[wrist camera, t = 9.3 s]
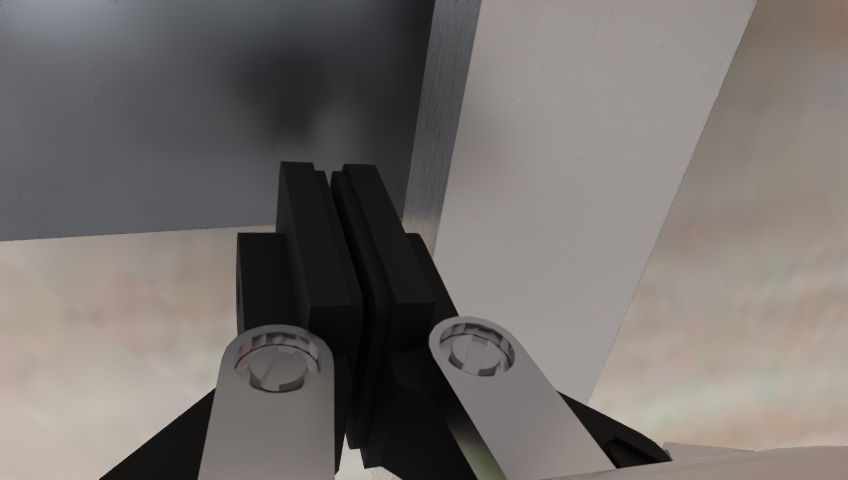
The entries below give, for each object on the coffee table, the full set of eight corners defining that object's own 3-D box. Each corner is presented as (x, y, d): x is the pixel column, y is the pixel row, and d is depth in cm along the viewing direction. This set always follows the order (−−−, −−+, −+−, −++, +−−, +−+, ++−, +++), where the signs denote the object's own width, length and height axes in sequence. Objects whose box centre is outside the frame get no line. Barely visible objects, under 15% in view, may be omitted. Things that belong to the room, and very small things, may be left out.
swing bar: (590, -1055, 6) (759, -1440, 4) (948, -813, 7) (1195, -1018, 5) (366, 451, 17) (383, 526, 15) (519, 431, 18) (551, 498, 16)
